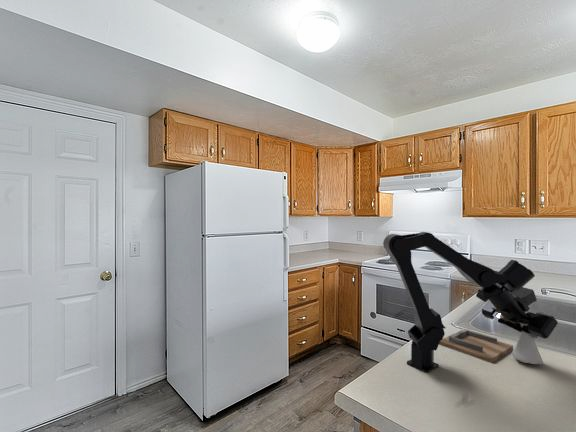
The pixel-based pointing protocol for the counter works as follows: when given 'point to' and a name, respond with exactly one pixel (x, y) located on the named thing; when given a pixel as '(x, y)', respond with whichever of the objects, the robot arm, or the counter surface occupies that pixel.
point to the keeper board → (477, 345)
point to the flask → (527, 349)
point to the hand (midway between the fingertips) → (531, 334)
